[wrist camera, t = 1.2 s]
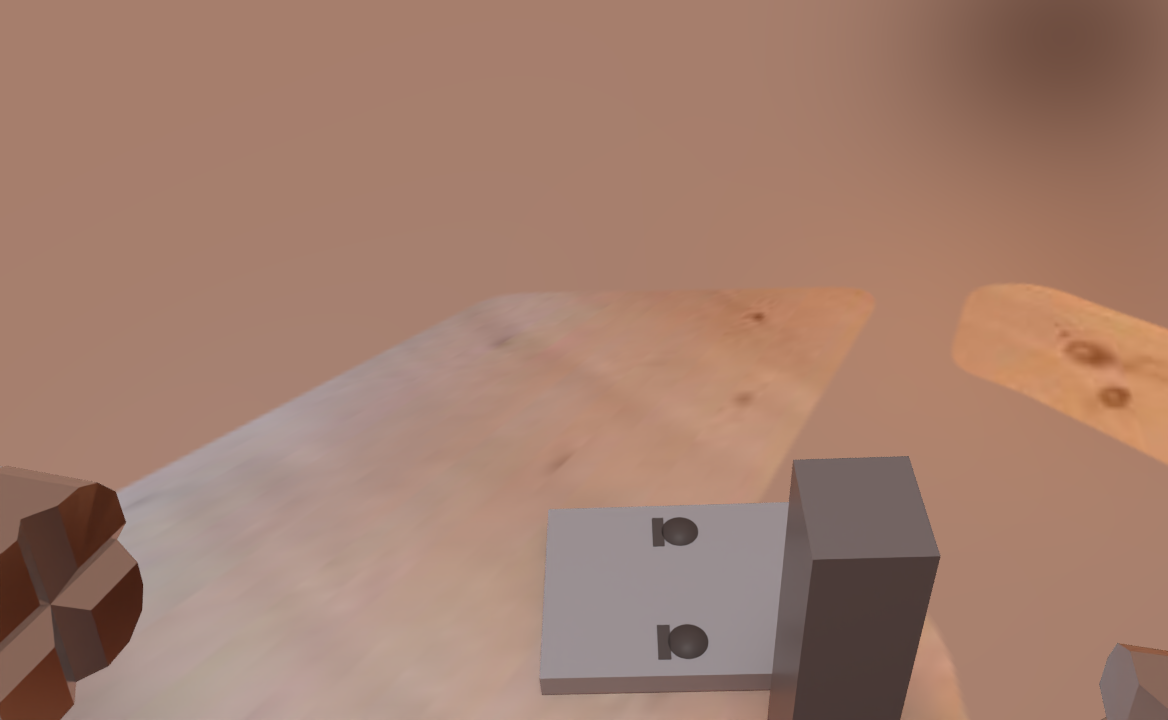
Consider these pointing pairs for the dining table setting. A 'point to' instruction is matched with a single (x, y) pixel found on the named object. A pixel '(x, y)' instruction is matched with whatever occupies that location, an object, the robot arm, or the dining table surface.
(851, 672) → the tall taupe pillar
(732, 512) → the mounting plate
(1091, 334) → the dining table surface
